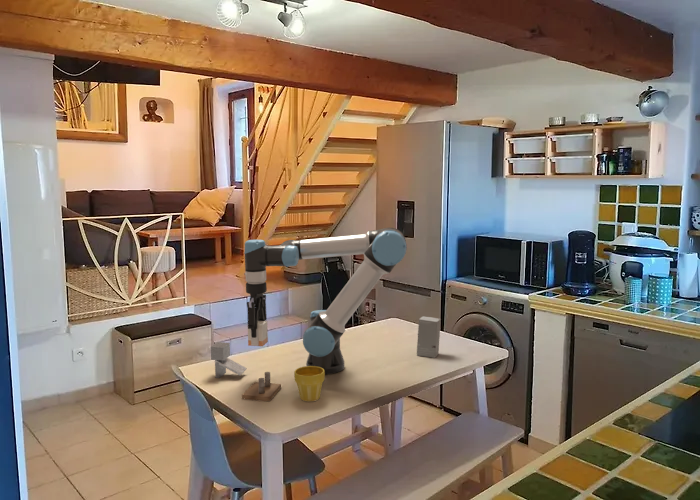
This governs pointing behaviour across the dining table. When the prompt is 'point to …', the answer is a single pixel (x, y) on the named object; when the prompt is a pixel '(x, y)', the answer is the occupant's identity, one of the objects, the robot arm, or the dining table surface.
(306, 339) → the robot arm
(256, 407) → the dining table surface
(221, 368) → the chute
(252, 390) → the pin board
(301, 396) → the plant pot
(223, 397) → the dining table surface
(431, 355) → the skincare box
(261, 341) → the sleeve
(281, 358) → the dining table surface
